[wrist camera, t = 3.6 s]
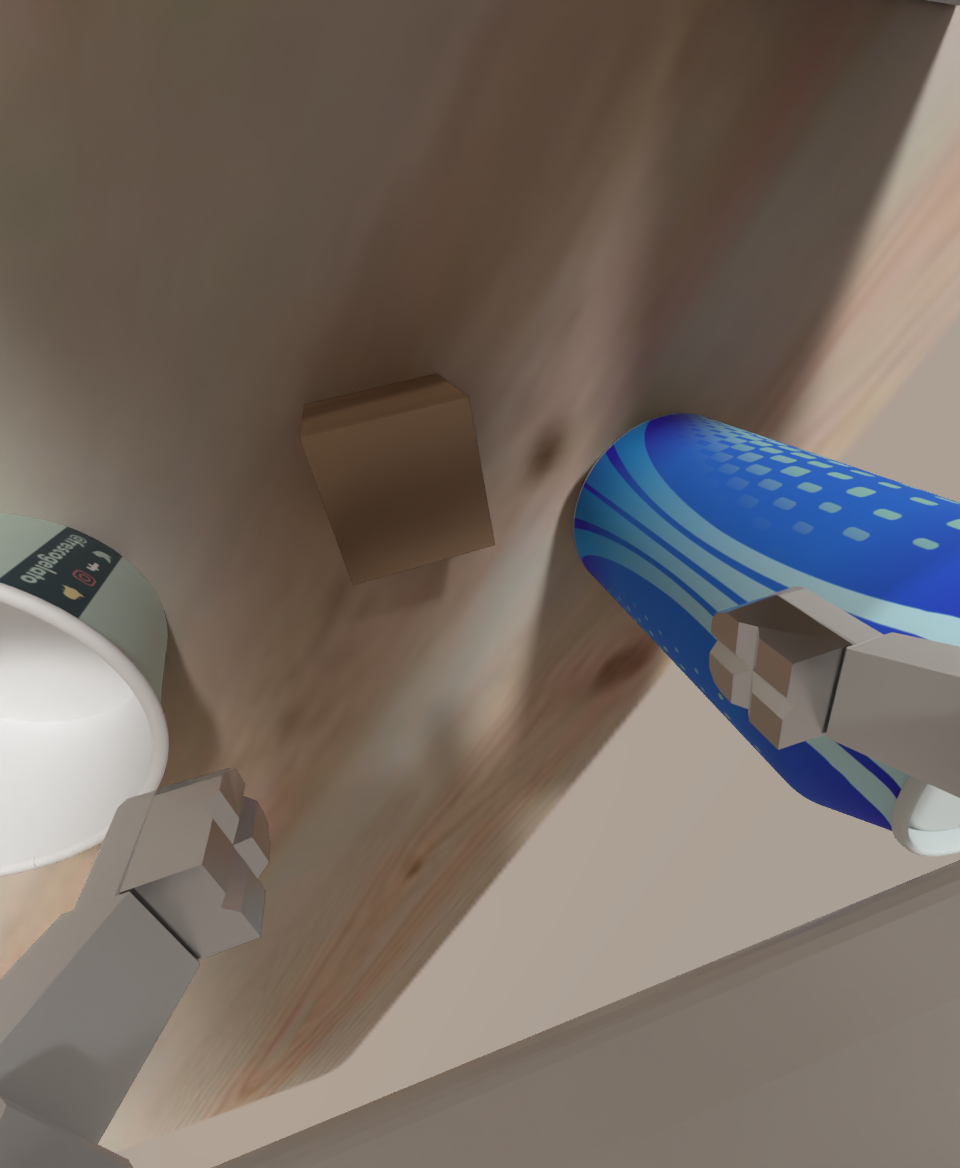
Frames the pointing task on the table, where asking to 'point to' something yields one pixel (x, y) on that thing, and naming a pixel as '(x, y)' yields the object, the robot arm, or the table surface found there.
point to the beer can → (776, 578)
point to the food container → (73, 690)
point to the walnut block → (398, 475)
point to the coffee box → (947, 1)
